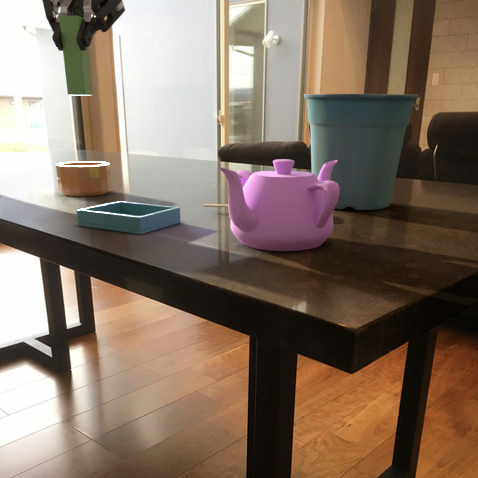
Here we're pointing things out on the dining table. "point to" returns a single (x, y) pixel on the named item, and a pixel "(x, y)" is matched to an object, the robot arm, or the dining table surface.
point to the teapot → (282, 206)
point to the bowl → (84, 178)
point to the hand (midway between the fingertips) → (69, 45)
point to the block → (75, 58)
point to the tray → (128, 217)
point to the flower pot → (359, 143)
